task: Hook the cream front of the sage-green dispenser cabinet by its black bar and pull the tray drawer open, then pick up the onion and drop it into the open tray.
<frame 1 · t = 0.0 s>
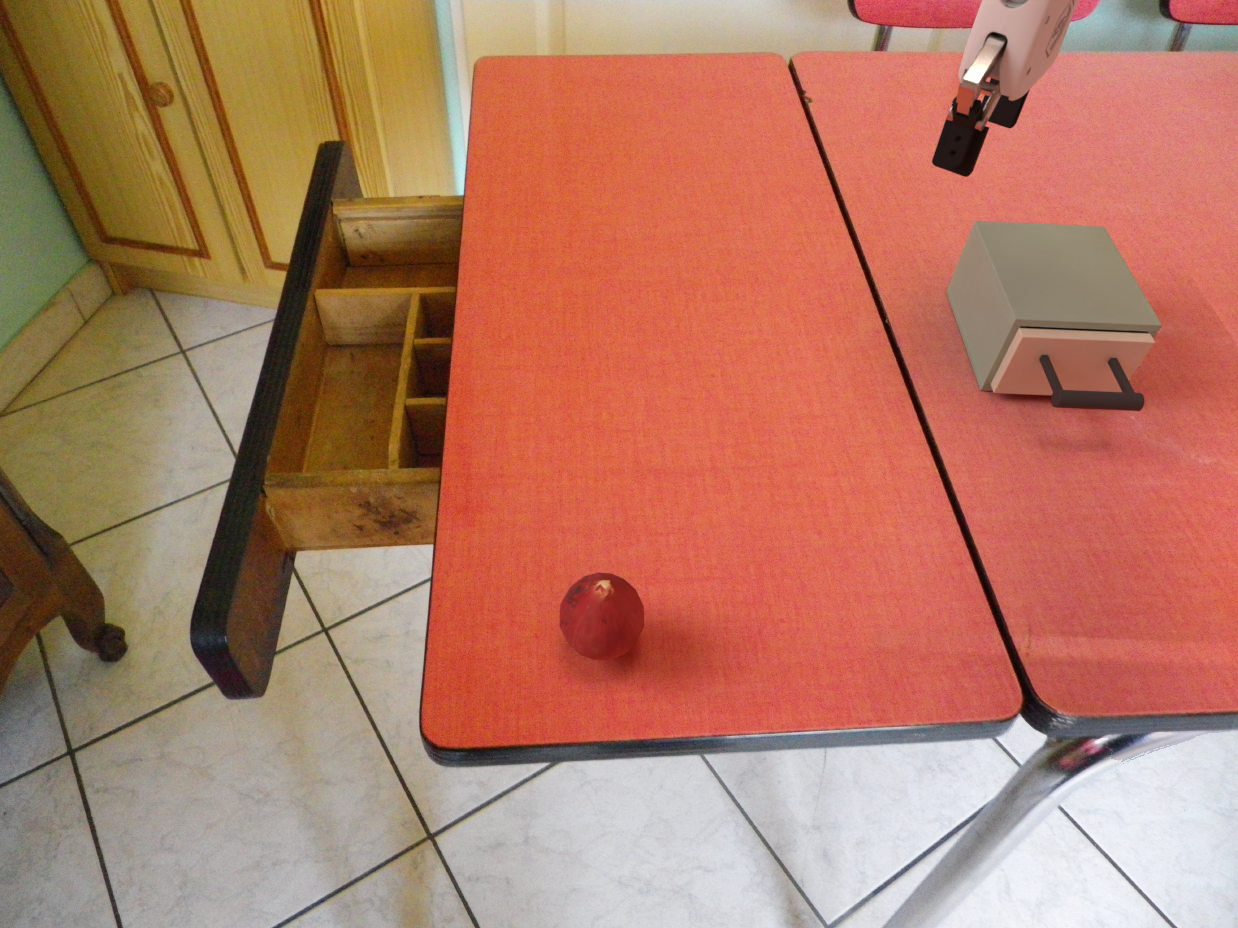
hand: (974, 145, 70), 19 cm above the table, tool pointing down, fingers open, 9 cm apart
drawer: (1058, 339, 77), point 4 cm above the table, slide at 0.0 cm
onion: (601, 644, 61), on the table
cabinet: (1025, 341, 84), on the table
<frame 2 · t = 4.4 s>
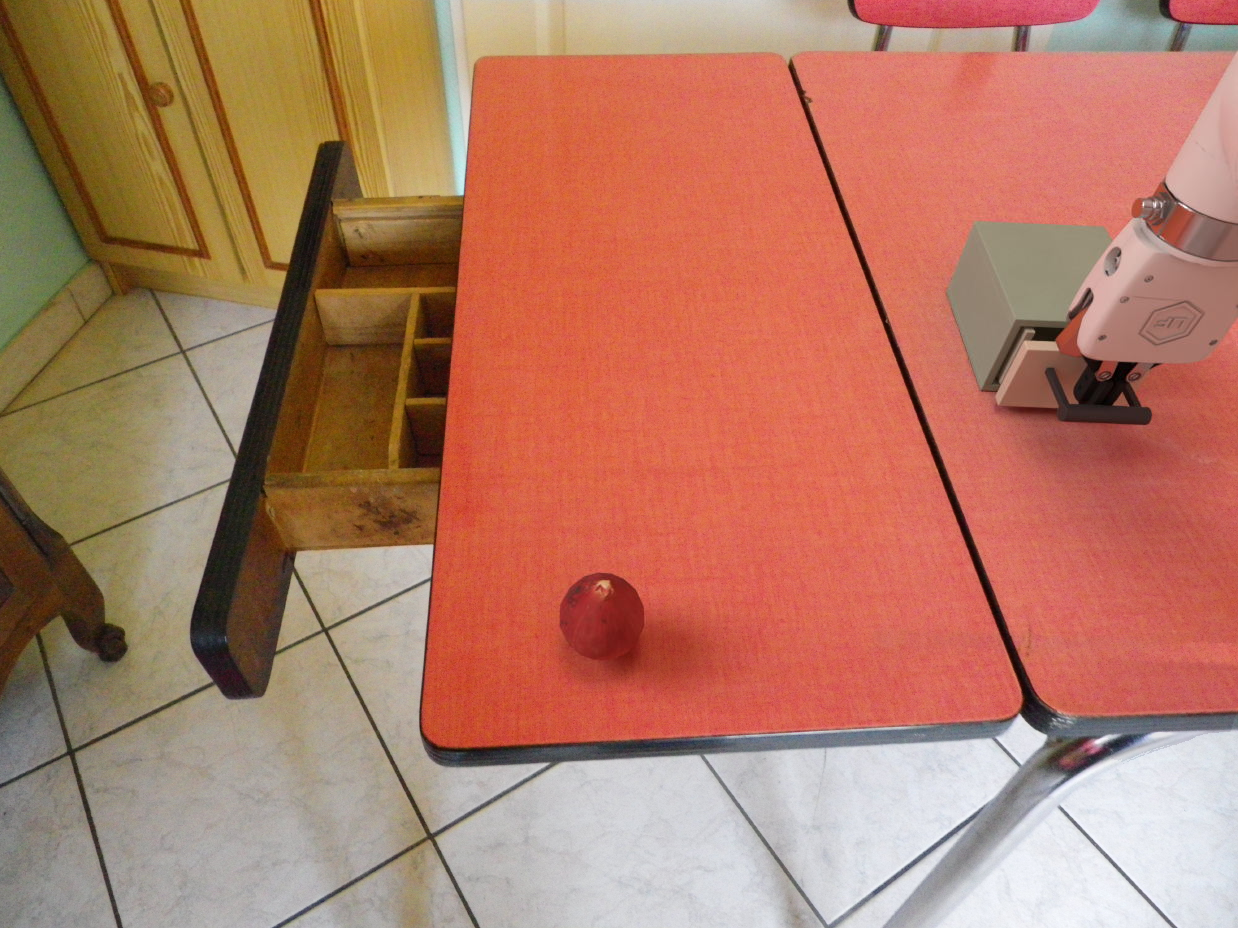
hand: (1088, 404, 72), 4 cm above the table, tool pointing down, fingers closed
drawer: (1064, 351, 76), point 4 cm above the table, slide at 1.6 cm
everything else where it was.
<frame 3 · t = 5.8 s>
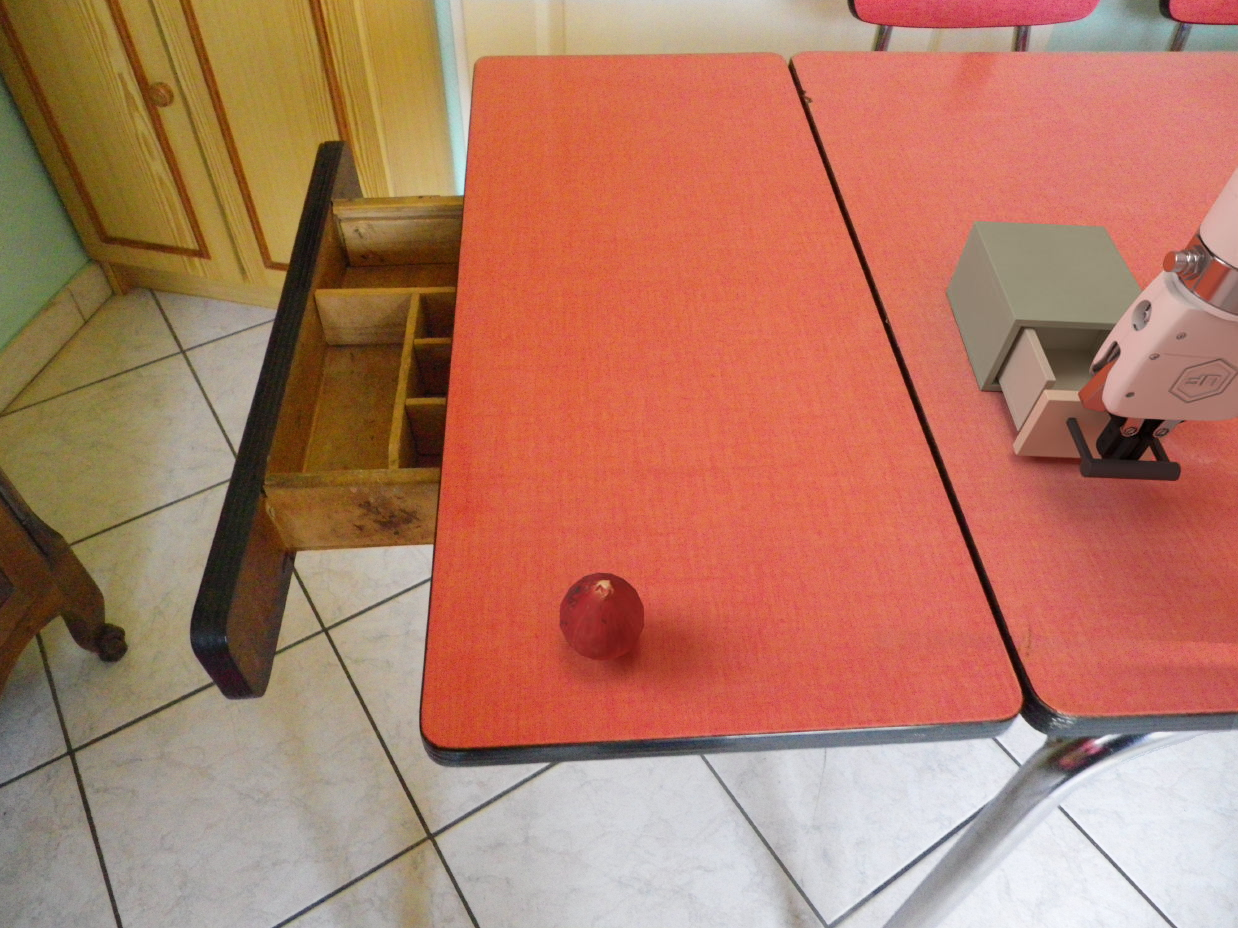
hand: (1111, 457, 68), 4 cm above the table, tool pointing down, fingers closed
drawer: (1085, 398, 73), point 4 cm above the table, slide at 7.5 cm, touching gripper
everything else where it was.
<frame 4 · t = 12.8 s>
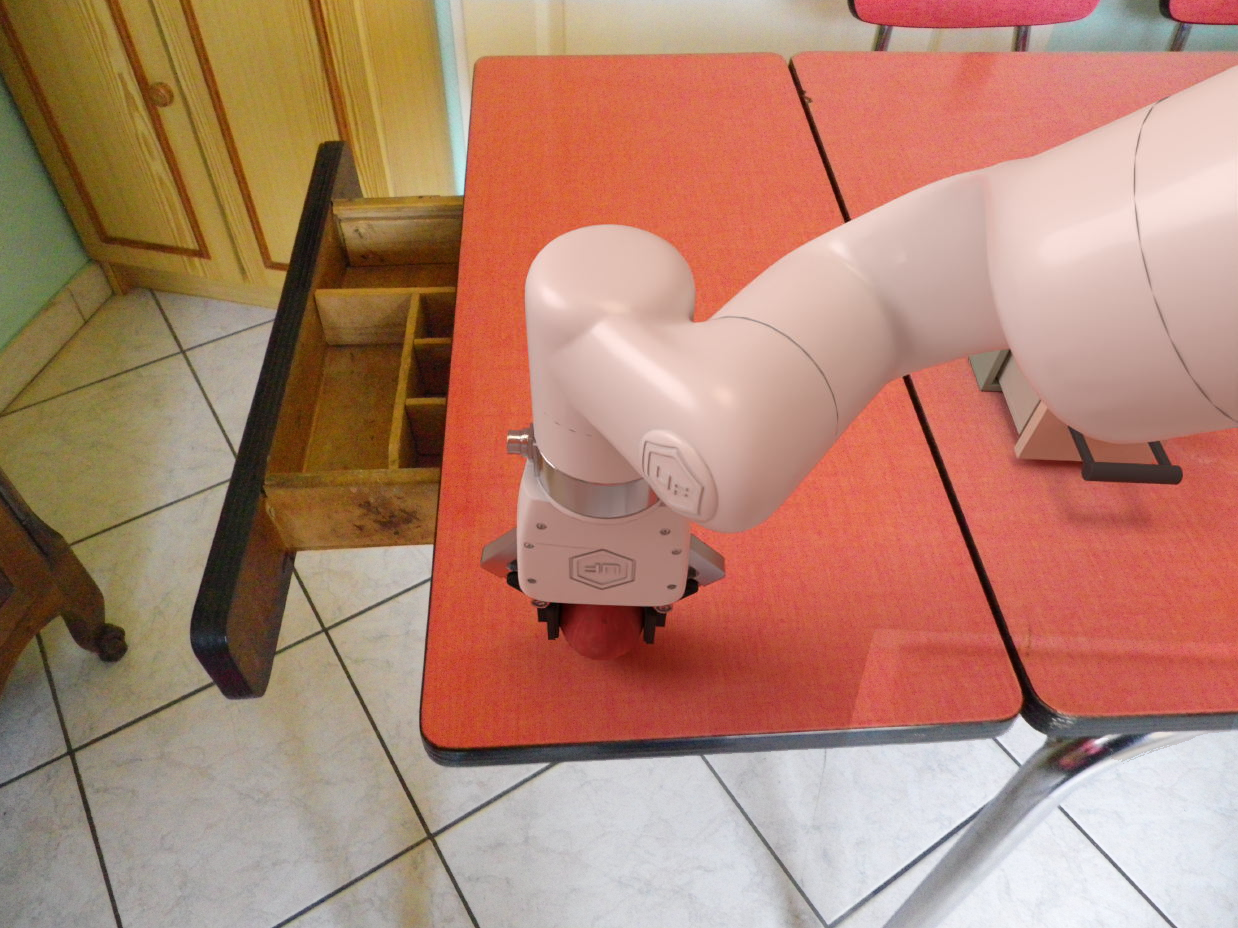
hand: (601, 621, 59), 3 cm above the table, tool pointing down, fingers closed on onion, 5 cm apart
drawer: (1086, 401, 72), point 4 cm above the table, slide at 7.9 cm
onion: (601, 644, 61), on the table, touching gripper
when the fingers open (10 cm above the table, at t = 21.7 s): onion drops 5 cm, resting on drawer.
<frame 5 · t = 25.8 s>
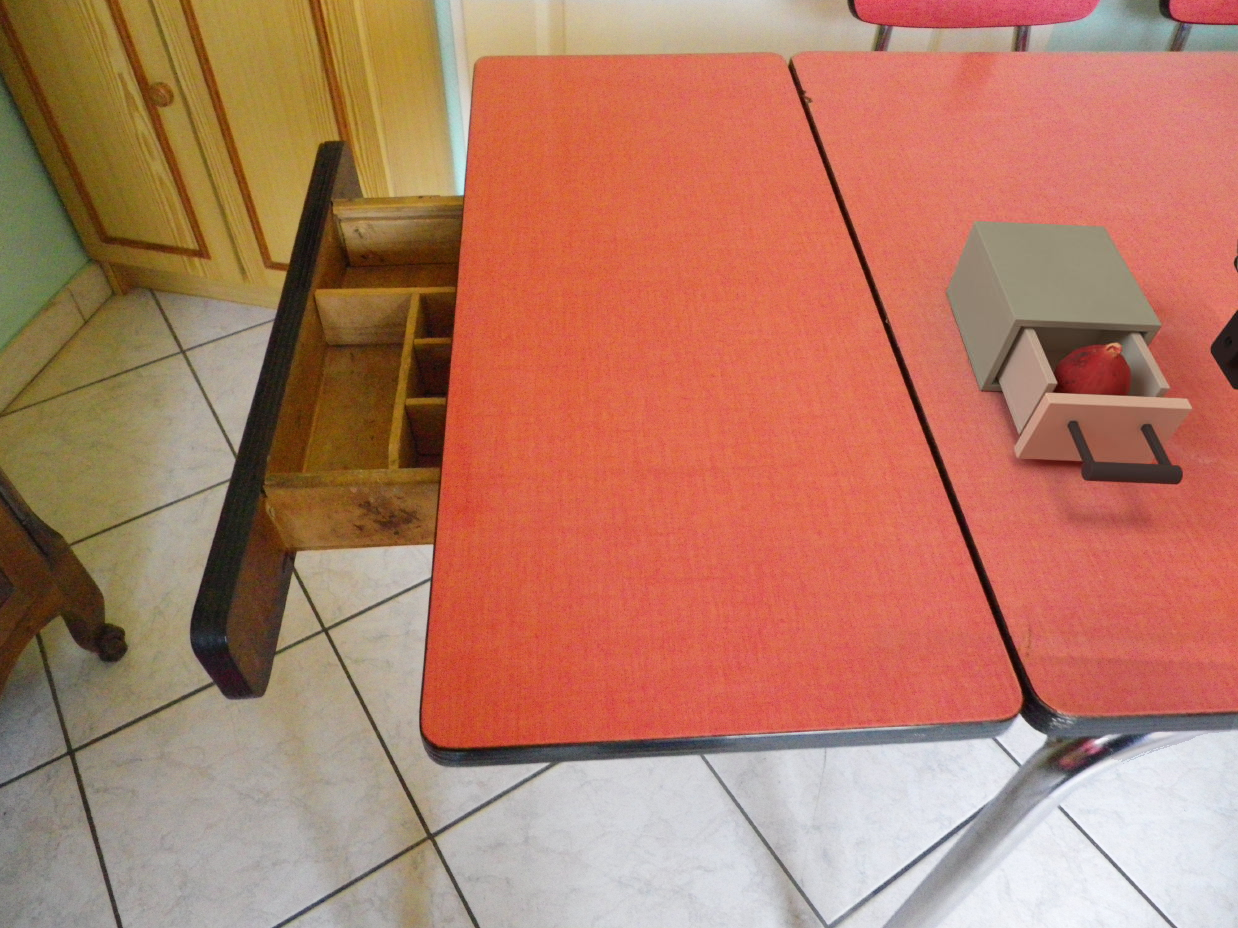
drawer: (1086, 401, 72), point 4 cm above the table, slide at 7.9 cm, touching onion
onion: (1070, 413, 75), point 2 cm above the table, touching drawer
at the end: drawer slide at 7.9 cm; onion inside the target area in the drawer (0.2 cm from its centre), point 1.8 cm above the cabinet's base; the gripper is holding nothing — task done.
